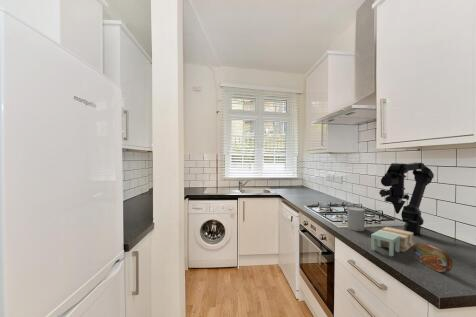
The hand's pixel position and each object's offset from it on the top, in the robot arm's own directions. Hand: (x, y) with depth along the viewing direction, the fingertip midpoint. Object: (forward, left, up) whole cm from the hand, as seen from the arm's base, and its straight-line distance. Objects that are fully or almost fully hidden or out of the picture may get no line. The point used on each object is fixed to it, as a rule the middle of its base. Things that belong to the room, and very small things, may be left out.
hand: (397, 213), depth 127 cm
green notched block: (+12, +19, -9) cm, 25 cm away
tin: (+4, +36, -13) cm, 39 cm away
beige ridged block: (+7, +14, -13) cm, 20 cm away
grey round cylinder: (+18, -11, -13) cm, 25 cm away
